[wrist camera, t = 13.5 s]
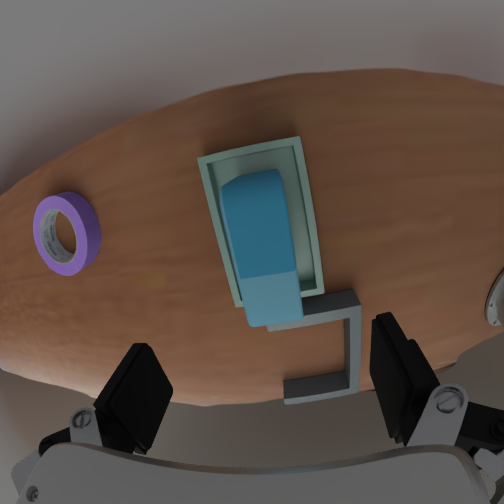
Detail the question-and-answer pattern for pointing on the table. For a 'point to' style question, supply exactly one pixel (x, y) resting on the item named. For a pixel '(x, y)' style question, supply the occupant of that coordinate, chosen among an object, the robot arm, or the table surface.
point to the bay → (348, 380)
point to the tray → (297, 197)
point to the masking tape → (83, 227)
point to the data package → (262, 247)
